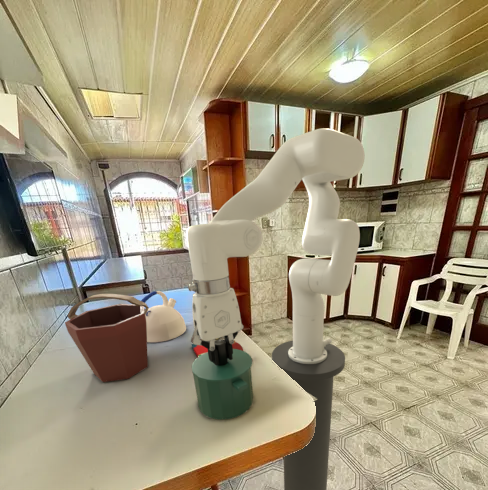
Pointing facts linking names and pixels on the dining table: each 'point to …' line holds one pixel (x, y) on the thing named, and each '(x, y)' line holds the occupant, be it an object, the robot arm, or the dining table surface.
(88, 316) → the bucket
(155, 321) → the kettle
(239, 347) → the onion
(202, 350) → the popsicle
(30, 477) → the dining table surface
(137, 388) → the dining table surface
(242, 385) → the green cooking pot
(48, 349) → the dining table surface
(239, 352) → the lid
